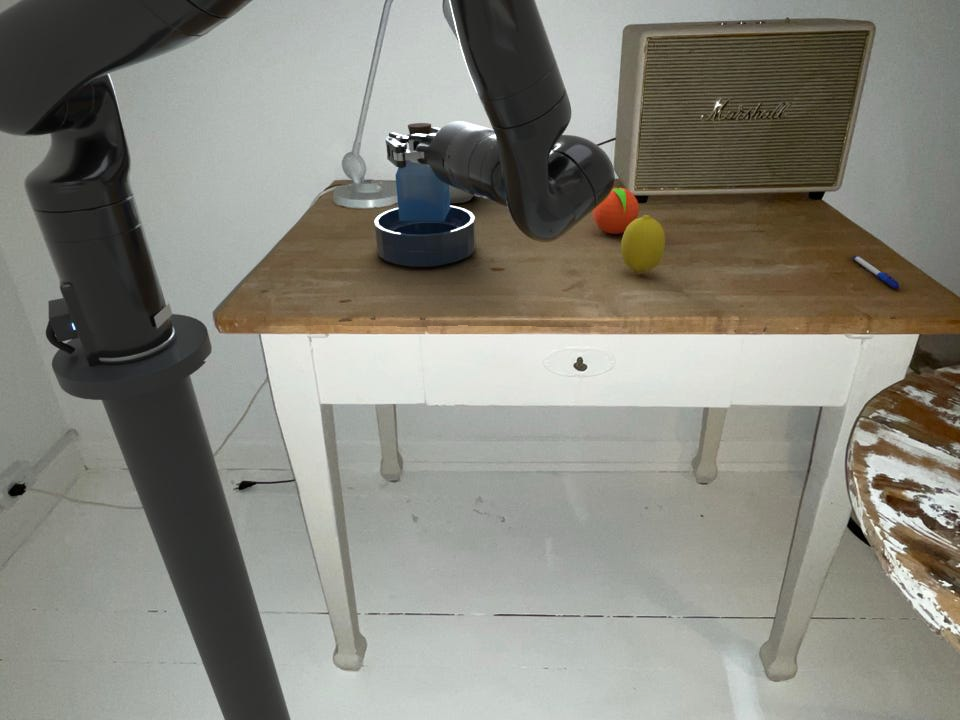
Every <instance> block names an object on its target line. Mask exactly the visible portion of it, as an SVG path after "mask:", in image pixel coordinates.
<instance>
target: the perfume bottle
mask: <svg viewBox="0 0 960 720" xmlns="http://www.w3.org/2000/svg"><path fill="white" fill-rule="evenodd" d="M431 128H432V123H429V122H416V123H415V122H414V123H409V124H407V129H408V134H407V135H406V136H409V135H412V134H416V133H418V134H427V135H428V134H432V133H430V131H431ZM421 141H422V140H420V141H419V142H421ZM407 161H408V164H406V167H403V168H399V167H397V169H396V173H395V185H396V186H395V187H396V199H397V208H398V210H399V221H444V220H445V218H446V216H447V214H448V212H449V210H450V206H451V203H450V190H449V185H448V184H446V183H444V182H442V181H441V180H440V179H439V178H438V177H437V176H436V175H435V174H434V172H433V170H432V169H431V167H428V166H427V165H425V164H418V163H412V162H411V161H410V160H407Z"/></svg>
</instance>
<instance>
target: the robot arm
mask: <svg viewBox="0 0 960 720" xmlns="http://www.w3.org/2000/svg"><path fill="white" fill-rule="evenodd" d="M253 1H254V0H18V1H17V2H14V3H13V4H11V5H10V6H8V7H7V8H5V9H4V10H2V11H0V132H1V133H2V134H3V133H4V134H6V135H11V136H17V137H38V136H44V135H50V145H49V148H48V151H47V152H46V154H45V156H44V158H43V159H42V160H41V161H40V163H38V165H37V166H35V167H34V168H33V169H32V170H31V171H30V172H29V173H28V174H27V175H26V176H25V178H24V181H23V187H24V190H25V194H26V196H27V199H28V202H29V204H30V207H31V209H32V212H33V215H34V217H35V221H36V222H37V226H38V228H39V231H40V233H41V237H42V238H43V241H44V244H45V246H46V249H47V251H48V254H49V256H50V259H51V262H52V265H53V267H54V270H55V272H56V276H57V278H58V280H59V283H58V284H59V290H60V293H61V295H62V297H61V298H56V299H51V300H48V302H47V304H48V321H47V325H46V328H45V337H46V339H47V341H48V342H49V343H50V344H51V345H52V346H53V347H55V348H57V349H58V350H59V349H61V350H63V351H65V352H67V353H69V354H72V353H73V352H74V351H75V348H74V347H72V346H70V345H68V344H66V343H67V342H68V341H70V340H72V339H76V338H79V340H80V343H81V345H82V348H83V351H84V353H85V356H86V358H87V361H88V364H89V366H90V367H92V366H96V365H120V364H127V363H133V362H137V361H141V360H144V359H147V358H150V357H152V356H155V355H157V354H159V353H161V352H163V351H164V350H166V349H167V348H169V347H170V346H171V345H172V344H173V343H174V341H175V339H176V334H175V330H174V327H173V326H172V322H171V319H170V316H171V315H172V314H173V312H172V307H171V304H170V303H168V304H167V303H166V299H165V297H164V292H163V290H162V286H161V282H160V280H159V276H158V273H157V269H156V266H155V262H154V259H153V256H152V253H151V250H150V246H149V243H148V239H147V235H146V232H145V229H144V226H143V225H144V224H143V222H142V219H141V215H140V212H139V209H138V205H137V202H136V199H135V196H134V192H133V188H132V183H131V179H130V178H131V177H130V176H131V170H132V159H131V153H130V148H129V144H128V139H127V135H126V131H125V127H124V123H123V118H122V114H121V109H120V105H119V100H118V97H117V92H116V88H115V85H114V82H113V78H112V76H111V73H114V72H117V71H120V70H123V69H126V68H129V67H132V66H135V65H138V64H142V63H144V62H147V61H150V60H152V59H155V58H158V57H161V56H163V55H165V54H168V53H171V52H173V51H176V50H178V49H180V48H183V47H185V46H187V45H189V44H191V43H194V42H195V41H197V40H199V39H201V38H202V37H204V36H205V35H207V34H209V33H210V32H212V31H213V30H215V29H216V28H217V27H219V26H221V25H222V24H223V23H225V22H226V21H228V20H229V19H230V18H232V17H233V16H235V15H237V14H238V13H239V12H241V11H242V10H243V9H244V8H246V7H247V6H248V5H250V3H252V2H253ZM448 2H449V6H450V9H451V10H450V11H451V14H452V19H453V23H454V27H455V31H456V35H457V38H458V42H459V47H460V50H461V53H462V56H463V60H464V62H465V65H466V68H467V71H468V74H469V77H470V79H471V82H472V84H473V87H474V89H475V92H476V94H477V96H478V98H479V101H480V103H481V105H482V107H483V109H484V112H485V114H486V117H487V119H488V122H489V123H490V126H491V128H489V127H485V126H482V125H479V124H474V123H471V122H468V121H463V120H456V121H451V122H448V123H446V124H445V125H443V126H442V127H441V128H440V127H436V126H434V127H431V131H430V133H432V134H428V135H427V134H418V133H416V134H412V135H409V136H407V135H403V134H401V133H398V132H395V131H394V132H389V133H388V136H386V138H385V145H386V159H387V160H388V161H389V162H390V163H391V164H392V165H393V166H394V167H396V168H398V167H399V168H403V167H406V164H408V161H407V160H410V161H411V162H412V163H418V164H425V165H427V166H428V167H431V169H432V170H433V172H434V174H435V175H436V176H437V177H438V178H439V179H440V180H441V181H442V182H444V183H446V184H448V185H451V186H453V187H455V188H457V189H460V190H462V191H464V192H467V193H469V194H471V195H474V196H473V197H479V198H484V199H486V200H489V201H491V202H493V203H496V204H498V205H500V206H503V207H507V209H508V213H509V214H510V217H511V219H512V221H513V223H514V225H516V227H517V228H518V229H519V230H520V231H521V233H522V234H523V235H525V236H526V237H528V238H529V239H531V240H533V241H535V242H539V243H551V242H555V241H556V240H558V239H560V238H561V237H563V236H564V235H565V234H566V233H568V232H569V231H570V230H572V228H574V227H575V226H576V225H577V224H578V223H580V222H581V221H582V220H583V219H585V217H587V216H588V215H589V214H590V213H591V212H593V210H594V209H595V208H596V207H597V206H599V205H600V204H601V203H602V202H603V201H604V200H605V199H606V198H607V197H608V196H609V194H610V192H611V190H612V188H614V184H615V180H616V179H615V175H616V174H615V169H614V165H613V163H612V160H611V159H610V157H609V155H608V154H607V153H606V151H604V150H603V149H602V147H600V146H599V145H598V144H596V143H595V142H593V141H591V140H590V139H588V138H585V137H583V136H582V137H581V136H578V135H575V134H564V133H565V131H566V130H567V128H568V126H569V125H570V122H571V119H572V107H571V102H570V99H569V95H568V92H567V89H566V86H565V83H564V80H563V77H562V74H561V71H560V69H559V65H558V63H557V59H556V57H555V54H554V52H553V48H552V46H551V42H550V39H549V36H548V34H547V31H546V28H545V26H544V25H545V24H544V22H543V20H542V19H543V18H542V17H541V14H540V11H539V8H538V5H537V2H536V0H448ZM420 140H422V141H421V142H419V141H420ZM66 341H67V342H66Z"/></svg>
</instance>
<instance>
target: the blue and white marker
mask: <svg viewBox="0 0 960 720" xmlns="http://www.w3.org/2000/svg"><path fill="white" fill-rule="evenodd" d="M852 258H853V260H854V261H855V262H857V264H860V265H861V266H862V267H864V268H865V269H866V270H868V271H869V272H871V273H872V274H873V275H875V276H876V277H877V278H879V279H880V280H881V281H882V282H884V283H886V284H887V285H888V286H890V287H891V288H893V289H895V290H898V289H900V284H899V282H898V280H897V279H895V278H894V277H893V276H891V275H890V274H888V272H882V271H880V270H879V269H878V268H876V267H875V266H873V265H872V264H870V263H869V262H867V261H866V260H865V259H863V258H862V257H860V256H859V255H856V254H854V255H852Z"/></svg>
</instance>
